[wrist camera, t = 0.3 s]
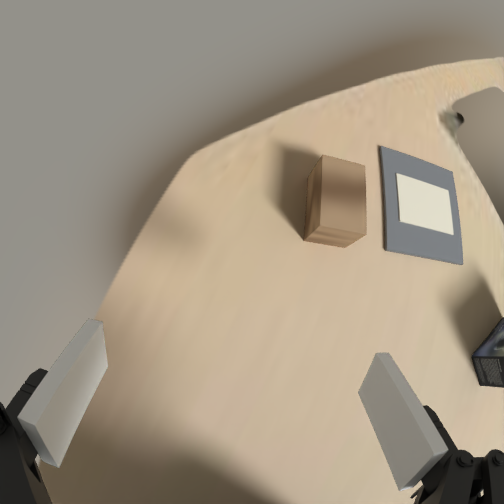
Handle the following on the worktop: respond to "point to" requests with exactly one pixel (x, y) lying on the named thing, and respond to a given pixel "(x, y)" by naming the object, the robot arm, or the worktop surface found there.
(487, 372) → the small box
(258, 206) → the worktop surface
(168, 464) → the worktop surface
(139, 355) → the worktop surface
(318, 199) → the block
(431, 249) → the mat
